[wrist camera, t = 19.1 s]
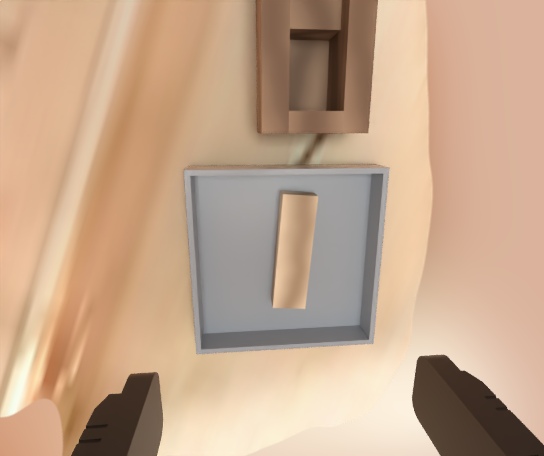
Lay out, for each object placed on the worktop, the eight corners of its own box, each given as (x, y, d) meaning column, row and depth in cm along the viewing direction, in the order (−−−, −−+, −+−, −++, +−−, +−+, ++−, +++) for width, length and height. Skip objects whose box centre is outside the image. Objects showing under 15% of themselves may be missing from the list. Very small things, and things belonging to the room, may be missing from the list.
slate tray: (199, 335, 46) (196, 354, 42) (188, 166, 40) (183, 170, 36) (362, 326, 48) (373, 343, 44) (375, 164, 42) (389, 167, 38)
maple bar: (270, 298, 45) (272, 308, 42) (280, 190, 41) (283, 193, 39) (301, 299, 45) (305, 308, 43) (313, 192, 41) (318, 196, 39)
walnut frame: (257, 132, 40) (262, 133, 33) (255, -76, 34) (260, -128, 27) (345, 132, 40) (368, 133, 33) (356, -70, 35) (386, -120, 28)
